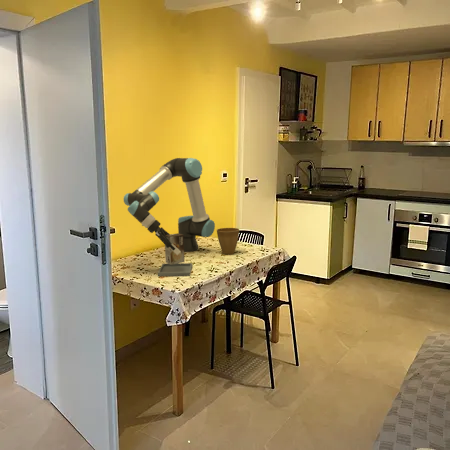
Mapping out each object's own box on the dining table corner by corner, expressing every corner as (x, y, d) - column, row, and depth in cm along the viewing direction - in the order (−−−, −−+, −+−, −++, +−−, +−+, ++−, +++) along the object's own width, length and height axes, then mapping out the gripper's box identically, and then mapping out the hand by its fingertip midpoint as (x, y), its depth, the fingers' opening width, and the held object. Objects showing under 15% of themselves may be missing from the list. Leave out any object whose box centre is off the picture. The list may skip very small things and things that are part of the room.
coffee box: (179, 260, 262) (178, 232, 259) (184, 262, 257) (184, 234, 254) (165, 262, 257) (164, 234, 254) (170, 264, 251) (169, 236, 249)
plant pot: (240, 250, 306) (240, 227, 303) (238, 256, 291) (238, 231, 288) (218, 250, 307) (217, 227, 304) (215, 255, 292) (215, 231, 290)
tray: (162, 266, 268) (162, 263, 267) (192, 266, 267) (192, 263, 267) (157, 276, 248) (157, 272, 248) (189, 276, 248) (189, 272, 248)
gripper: (150, 225, 264) (177, 251, 267) (143, 232, 242) (173, 260, 245) (158, 216, 263) (186, 242, 266) (152, 222, 241) (182, 251, 244)
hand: (180, 251), depth 256 cm, fingers closed on coffee box, 10 cm apart
